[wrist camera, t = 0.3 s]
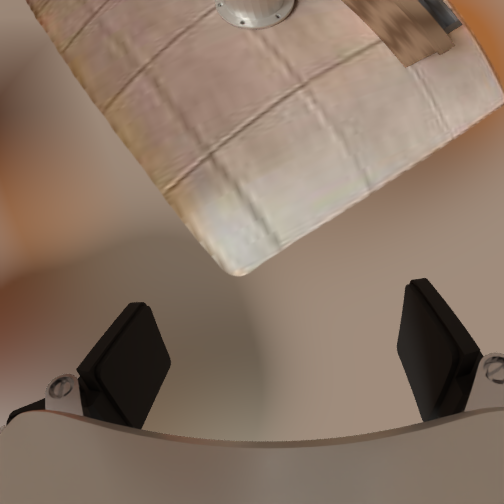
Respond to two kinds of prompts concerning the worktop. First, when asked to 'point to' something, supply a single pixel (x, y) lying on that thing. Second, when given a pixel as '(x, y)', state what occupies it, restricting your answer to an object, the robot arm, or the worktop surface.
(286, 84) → the worktop surface
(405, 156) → the worktop surface
